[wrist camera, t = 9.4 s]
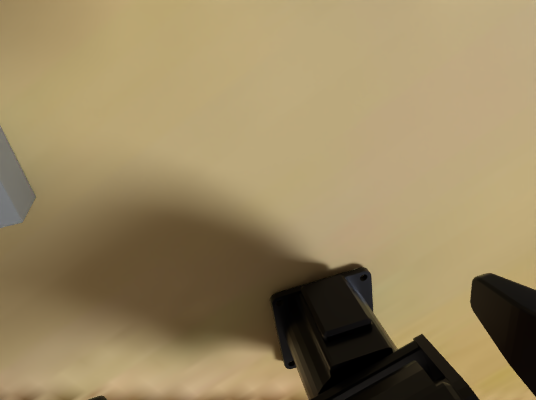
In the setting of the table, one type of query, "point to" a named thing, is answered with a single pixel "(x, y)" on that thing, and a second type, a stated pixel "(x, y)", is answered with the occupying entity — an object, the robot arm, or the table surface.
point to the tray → (12, 187)
